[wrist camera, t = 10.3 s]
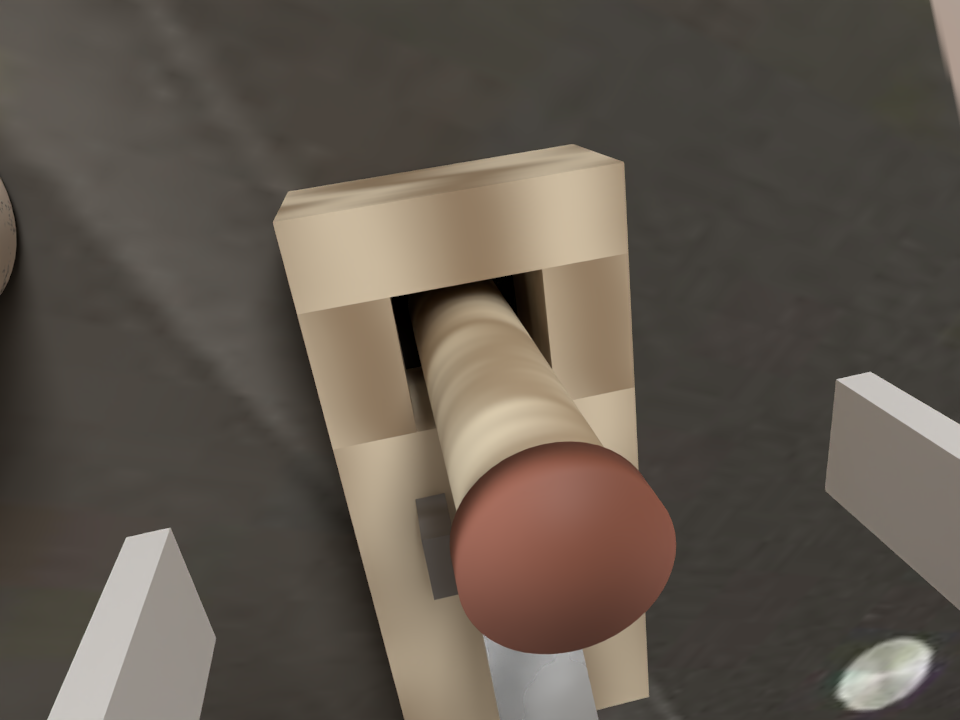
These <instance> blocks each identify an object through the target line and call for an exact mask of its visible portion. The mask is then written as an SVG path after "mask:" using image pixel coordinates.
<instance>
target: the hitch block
mask: <svg viewBox="0 0 960 720" xmlns="http://www.w3.org/2000/svg"><path fill="white" fill-rule="evenodd" d="M273 225H274V229H275V233H276V236H277V240H278V244H279V248H280V252H281V255H282V259H283V263H284V267H285V270H286V274H287V278H288V282H289V286H290V289H291V293H292V297H293V301H294V304H295V308H296V312H297V316H298V320H299V323H300V327H301V331H302V335H303V338H304V342H305V346H306V350H307V353H308V357H309V361H310V365H311V369H312V372H313V376H314V380H315V384H316V387H317V391H318V395H319V399H320V403H321V406H322V410H323V414H324V418H325V421H326V425H327V429H328V433H329V437H330V440H331V444H332V448H333V452H334V455H335V459H336V463H337V467H338V471H339V474H340V478H341V482H342V486H343V489H344V493H345V497H346V501H347V505H348V508H349V512H350V516H351V520H352V523H353V527H354V531H355V535H356V539H357V542H358V546H359V550H360V554H361V557H362V561H363V565H364V569H365V573H366V576H367V580H368V584H369V588H370V591H371V595H372V599H373V603H374V607H375V610H376V614H377V618H378V622H379V625H380V629H381V633H382V637H383V640H384V644H385V648H386V652H387V656H388V659H389V663H390V667H391V671H392V674H393V678H394V682H395V686H396V690H397V693H398V697H399V701H400V705H401V708H402V712H403V716H404V720H499V715H498V710H497V705H496V700H495V696H494V691H493V686H492V681H491V676H490V671H489V666H488V661H487V656H486V651H485V646H484V641H483V636H482V633H481V632H480V631H479V630H478V629H477V628H476V627H475V626H474V625H473V624H472V623H471V621H470V620H469V618H468V617H467V616H466V614H465V611H464V609H463V607H462V605H461V602H460V598H459V595H458V590H457V585H456V580H455V575H454V570H453V566H452V561H451V555H450V546H449V545H450V532H451V527H452V522H453V519H454V517H455V514H456V508H455V504H454V499H453V495H452V491H451V487H450V483H449V478H448V474H447V470H446V466H445V462H444V457H443V453H442V449H441V445H440V441H439V436H438V432H437V428H436V424H435V420H434V416H433V411H432V407H431V403H430V399H429V395H428V390H427V386H426V382H425V378H424V374H423V369H422V366H420V367H415V368H410V369H406V368H405V363H404V358H403V353H402V348H401V343H400V338H399V333H398V328H397V323H396V318H395V313H394V308H393V303H392V298H391V297H395V296H400V295H405V294H411V293H416V292H422V291H427V290H432V289H438V288H443V287H448V286H454V285H459V284H465V283H470V282H475V281H481V280H486V279H492V278H497V277H502V276H508V275H513V283H514V291H515V299H516V307H517V316H518V319H519V320H520V322H521V323H522V325H523V326H524V328H525V329H526V331H527V332H528V334H529V335H530V337H531V338H532V340H533V341H534V343H535V344H536V346H537V347H538V349H539V350H540V352H541V353H542V355H543V356H544V358H545V359H546V361H547V362H548V364H549V365H550V367H551V368H552V370H553V371H554V373H555V374H556V376H557V377H558V379H559V380H560V382H561V383H562V385H563V386H564V388H565V389H566V391H567V392H568V394H569V395H570V397H571V398H572V400H573V401H574V403H575V404H576V406H577V407H578V409H579V410H580V412H581V413H582V415H583V416H584V418H585V419H586V421H587V422H588V424H589V425H590V427H591V428H592V430H593V431H594V433H595V434H596V436H597V437H598V439H599V440H600V442H601V443H602V445H603V446H604V447H605V448H607V449H610V450H612V451H614V452H616V453H618V454H620V455H621V456H623V457H624V458H625V459H627V460H628V461H629V462H631V463H632V464H633V465H634V466H635V467H636V468H637V470H638V451H637V429H636V408H635V387H634V365H633V344H632V323H631V301H630V280H629V258H628V237H627V216H626V194H625V173H624V162H622V161H619V160H616V159H613V158H611V157H608V156H605V155H602V154H599V153H596V152H594V151H591V150H588V149H585V148H582V147H579V146H577V145H574V144H570V145H564V146H559V147H553V148H547V149H541V150H535V151H529V152H523V153H517V154H511V155H505V156H499V157H493V158H487V159H481V160H475V161H469V162H463V163H457V164H451V165H445V166H439V167H433V168H427V169H421V170H415V171H409V172H403V173H397V174H391V175H385V176H379V177H373V178H367V179H361V180H355V181H349V182H343V183H337V184H331V185H325V186H319V187H313V188H307V189H301V190H295V191H289V192H288V193H287V195H286V197H285V199H284V201H283V203H282V205H281V207H280V209H279V211H278V213H277V215H276V217H275V219H274V221H273ZM583 654H584V658H585V662H586V667H587V671H588V676H589V680H590V684H591V689H592V693H593V698H594V702H595V706H596V710H599V709H603V708H607V707H611V706H615V705H619V704H622V703H626V702H630V701H634V700H638V699H642V698H646V697H649V686H648V665H647V643H646V622H645V613H644V614H643V615H642V616H641V617H640V618H639V619H638V620H636V621H635V622H634V623H633V624H631V625H630V626H629V627H627V628H626V629H624V630H623V631H621V632H620V633H618V634H617V635H615V636H613V637H611V638H609V639H607V640H605V641H603V642H601V643H598V644H596V645H593V646H591V647H587V648H584V649H583Z"/></svg>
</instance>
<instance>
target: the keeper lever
mask: <svg viewBox="0 0 960 720" xmlns="http://www.w3.org/2000/svg"><path fill="white" fill-rule="evenodd" d="M482 636H483V641H484V646H485V651H486V656H487V661H488V666H489V671H490V676H491V681H492V686H493V691H494V696H495V700H496V705H497V710H498V715H499V720H598V715H597V711H596V706H595V702H594V698H593V693H592V689H591V684H590V680H589V676H588V671H587V667H586V662H585V658H584V654H583V649H581V650H577V651H572V652H567V653H559V654H532V653H524V652H520V651H516V650H512V649H509V648H507V647H504V646H501V645H499V644H497V643H496V642H494V641H492V640H490V639H489V638H487V637H486V636H485V635H483V634H482Z"/></svg>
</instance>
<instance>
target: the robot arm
mask: <svg viewBox="0 0 960 720" xmlns="http://www.w3.org/2000/svg"><path fill="white" fill-rule="evenodd" d="M825 491H826V492H827V493H828V494H830V495H831V496H832V497H833V498H834V499H835V500H836V501H837V502H839V503H840V504H841V505H842V506H843V507H844V508H845V509H846V510H848V511H849V512H850V513H851V514H852V515H853V516H854V517H855V518H857V519H858V520H859V521H860V522H861V523H862V524H863V525H864V526H866V527H867V528H868V529H869V530H870V531H871V532H872V533H873V534H875V535H876V536H877V537H878V538H879V539H880V540H881V541H882V542H884V543H885V544H886V545H887V546H888V547H889V548H890V549H891V550H893V551H894V552H895V553H896V554H897V555H898V556H899V557H900V558H902V559H903V560H904V561H905V562H906V563H907V564H908V565H909V566H911V567H912V568H913V569H914V570H915V571H916V572H917V573H918V574H920V575H921V576H922V577H923V578H924V579H925V580H926V581H927V582H929V583H930V584H931V585H932V586H933V587H934V588H935V589H936V590H938V591H939V592H940V593H941V594H942V595H943V596H944V597H945V598H947V599H948V600H949V601H950V602H951V603H952V604H953V605H954V606H956V607H957V608H958V609H959V610H960V424H958V423H956V422H955V421H953V420H951V419H949V418H948V417H946V416H944V415H943V414H941V413H939V412H938V411H936V410H934V409H933V408H931V407H929V406H927V405H926V404H924V403H922V402H921V401H919V400H917V399H916V398H914V397H912V396H911V395H909V394H907V393H905V392H904V391H902V390H900V389H899V388H897V387H895V386H894V385H892V384H890V383H889V382H887V381H885V380H883V379H882V378H880V377H878V376H877V375H875V374H873V373H872V372H868V373H863V374H859V375H854V376H850V377H845V378H841V379H836V387H835V396H834V406H833V416H832V426H831V435H830V445H829V455H828V465H827V474H826V484H825ZM215 641H216V637H215V635H214V632H213V630H212V627H211V625H210V622H209V620H208V618H207V615H206V613H205V610H204V608H203V606H202V603H201V601H200V598H199V596H198V593H197V591H196V589H195V586H194V584H193V581H192V579H191V576H190V574H189V572H188V569H187V567H186V564H185V562H184V559H183V557H182V555H181V552H180V550H179V547H178V545H177V543H176V540H175V538H174V535H173V533H172V530H171V528H167V529H162V530H158V531H153V532H149V533H144V534H140V535H135V536H131V537H126V540H125V542H124V544H123V546H122V549H121V551H120V553H119V556H118V558H117V560H116V563H115V565H114V567H113V569H112V572H111V574H110V576H109V579H108V581H107V583H106V586H105V588H104V590H103V593H102V595H101V597H100V599H99V602H98V604H97V606H96V609H95V611H94V613H93V616H92V618H91V620H90V622H89V625H88V627H87V629H86V632H85V634H84V636H83V639H82V641H81V643H80V646H79V648H78V650H77V652H76V655H75V657H74V659H73V662H72V664H71V666H70V669H69V671H68V673H67V675H66V678H65V680H64V682H63V685H62V687H61V689H60V692H59V694H58V696H57V699H56V701H55V703H54V705H53V708H52V710H51V712H50V715H49V717H48V719H47V720H199V719H200V714H201V709H202V704H203V699H204V694H205V690H206V685H207V680H208V675H209V670H210V665H211V660H212V655H213V651H214V646H215Z"/></svg>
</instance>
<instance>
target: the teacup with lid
mask: <svg viewBox="0 0 960 720" xmlns="http://www.w3.org/2000/svg"><path fill="white" fill-rule="evenodd" d="M15 255H16V226H15V218H14V214H13V210H12V205H11V202H10V200H9V197H8V194H7V191H6V189H5V187H4V184H3V182H2V180H1V178H0V295H1V293H2V292H3V290H4V288H5V286H6V284H7V282H8V281H9V278H10V275H11V272H12V269H13V265H14V261H15Z"/></svg>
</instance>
